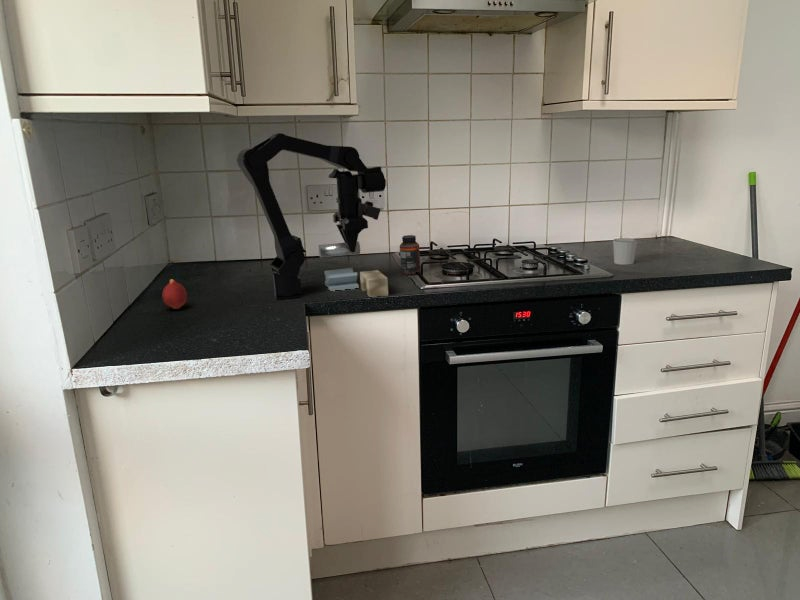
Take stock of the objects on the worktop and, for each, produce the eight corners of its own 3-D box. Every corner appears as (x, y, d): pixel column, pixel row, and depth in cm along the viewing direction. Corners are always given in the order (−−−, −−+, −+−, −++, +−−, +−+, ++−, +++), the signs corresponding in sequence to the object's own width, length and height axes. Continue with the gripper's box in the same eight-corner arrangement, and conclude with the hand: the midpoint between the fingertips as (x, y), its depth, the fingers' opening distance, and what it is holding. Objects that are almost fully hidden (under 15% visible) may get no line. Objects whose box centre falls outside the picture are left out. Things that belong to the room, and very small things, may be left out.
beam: (369, 297, 153) (368, 280, 151) (360, 288, 162) (359, 271, 161) (388, 295, 154) (387, 278, 153) (378, 286, 164) (377, 270, 162)
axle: (321, 258, 160) (320, 245, 159) (319, 256, 163) (318, 243, 162) (360, 254, 163) (359, 242, 162) (358, 252, 166) (357, 240, 165)
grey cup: (613, 265, 176) (615, 241, 175) (610, 260, 183) (611, 237, 181) (638, 264, 175) (639, 241, 173) (633, 260, 182) (634, 237, 180)
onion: (175, 305, 153) (171, 275, 151) (193, 307, 151) (189, 276, 149) (159, 312, 148) (154, 281, 146) (177, 313, 146) (173, 282, 144)
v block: (330, 291, 160) (329, 276, 159) (324, 284, 169) (323, 269, 168) (358, 288, 162) (357, 273, 161) (352, 281, 171) (351, 266, 170)
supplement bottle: (416, 270, 182) (414, 233, 178) (423, 273, 176) (422, 236, 173) (397, 272, 180) (396, 235, 176) (405, 276, 174) (403, 238, 171)
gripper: (385, 195, 153) (388, 254, 157) (369, 190, 170) (372, 243, 174) (343, 198, 150) (347, 258, 154) (331, 192, 167) (334, 246, 172)
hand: (351, 251), depth 164 cm, fingers closed on axle, 3 cm apart
